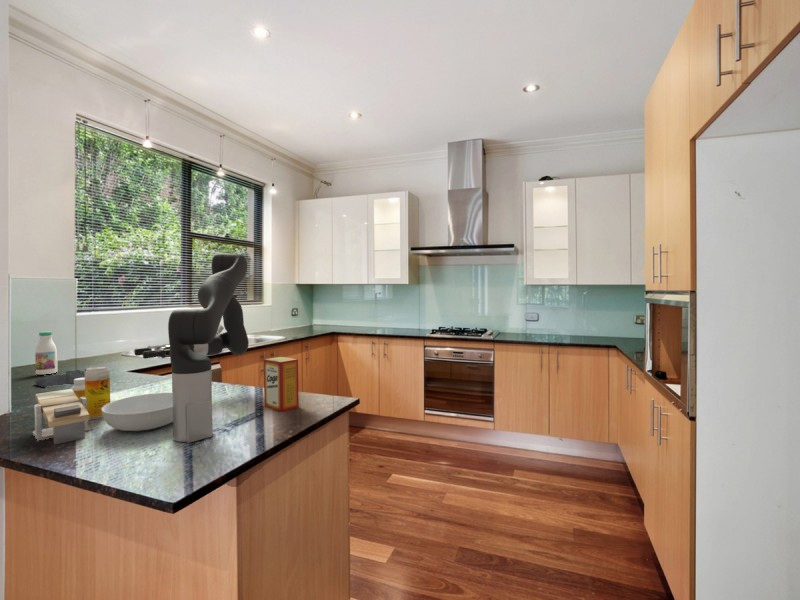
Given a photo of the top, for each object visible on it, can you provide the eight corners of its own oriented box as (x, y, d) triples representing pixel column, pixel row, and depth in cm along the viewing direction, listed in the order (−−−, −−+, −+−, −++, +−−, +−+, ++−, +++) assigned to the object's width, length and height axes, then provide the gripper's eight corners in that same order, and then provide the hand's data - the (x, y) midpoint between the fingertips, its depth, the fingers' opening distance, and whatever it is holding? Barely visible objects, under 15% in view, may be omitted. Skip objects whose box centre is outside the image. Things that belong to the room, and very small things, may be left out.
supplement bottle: (95, 407, 134) (94, 378, 134) (75, 411, 130) (74, 381, 130) (88, 404, 137) (87, 376, 137) (69, 408, 133) (68, 379, 133)
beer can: (97, 420, 120) (96, 370, 120) (80, 419, 121) (79, 369, 121) (115, 414, 126) (114, 366, 126) (99, 413, 127) (98, 365, 127)
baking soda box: (264, 406, 133) (263, 358, 133) (281, 402, 138) (280, 355, 138) (281, 411, 127) (280, 361, 127) (298, 407, 132) (297, 358, 132)
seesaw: (89, 420, 106) (89, 408, 106) (49, 428, 100) (49, 415, 100) (71, 394, 120) (71, 383, 120) (35, 399, 114) (35, 388, 114)
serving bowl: (81, 437, 106) (80, 411, 106) (142, 413, 127) (142, 391, 127) (153, 441, 103) (152, 414, 103) (204, 415, 124) (203, 393, 124)
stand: (96, 435, 107) (95, 403, 107) (41, 447, 99) (40, 413, 99) (83, 423, 117) (83, 394, 117) (32, 434, 109) (31, 403, 109)
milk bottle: (41, 373, 193) (40, 331, 192) (60, 372, 195) (59, 330, 194) (32, 376, 185) (30, 332, 185) (52, 375, 188) (51, 332, 187)
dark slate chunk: (31, 385, 170) (30, 373, 170) (94, 376, 188) (93, 365, 188) (41, 390, 161) (41, 378, 161) (106, 380, 179) (106, 369, 179)
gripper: (182, 335, 149) (131, 340, 136) (199, 339, 139) (145, 344, 127) (183, 356, 149) (132, 362, 137) (199, 360, 139) (146, 368, 127)
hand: (138, 353), depth 132 cm, fingers open, 8 cm apart
